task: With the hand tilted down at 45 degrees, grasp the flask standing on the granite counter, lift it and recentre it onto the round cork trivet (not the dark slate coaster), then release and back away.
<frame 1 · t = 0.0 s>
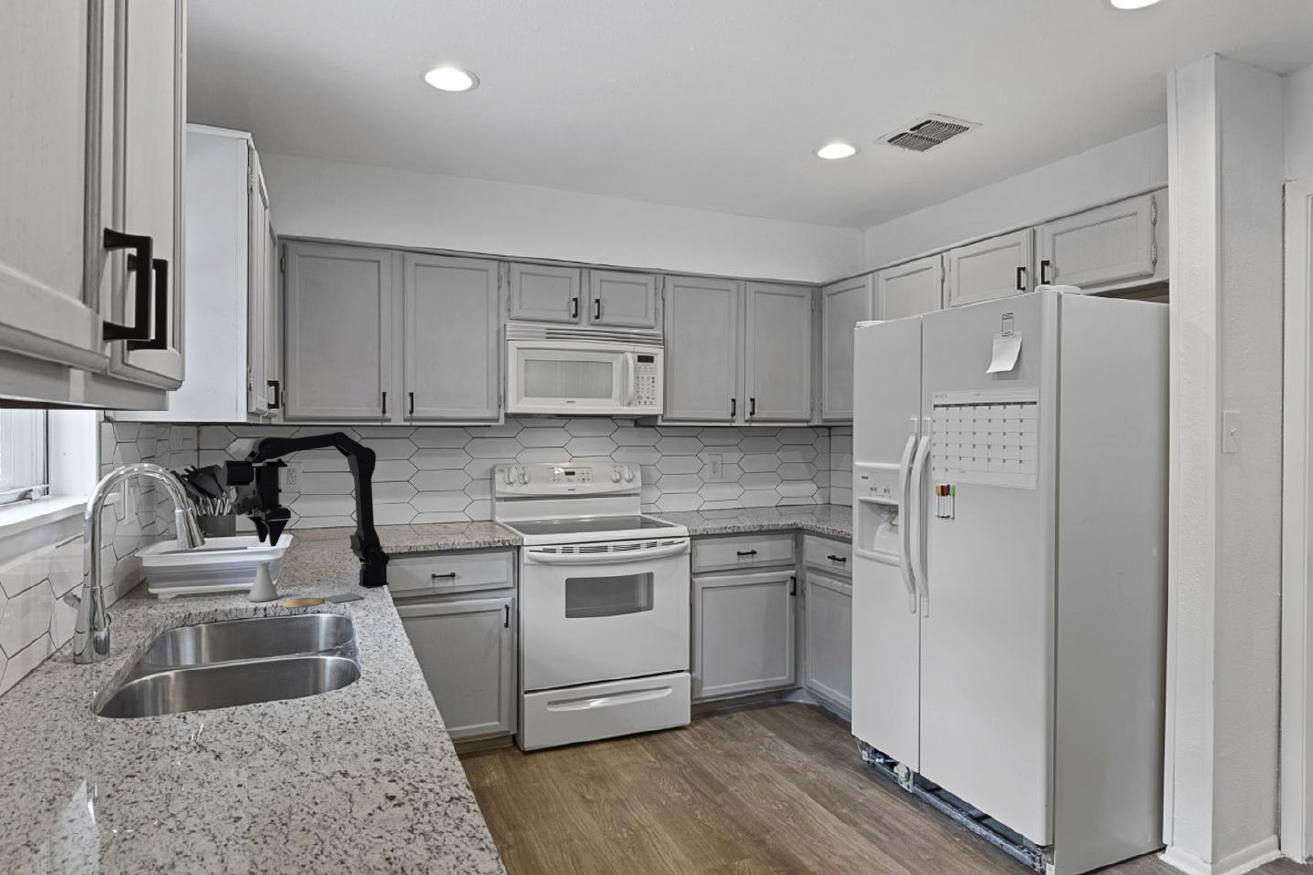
hand: (267, 544, 206), 15 cm above the countertop, tool pointing down, fingers open, 9 cm apart
cork trivet: (302, 603, 202), on the countertop
flask: (263, 600, 207), on the countertop
slate coaster: (343, 599, 207), on the countertop
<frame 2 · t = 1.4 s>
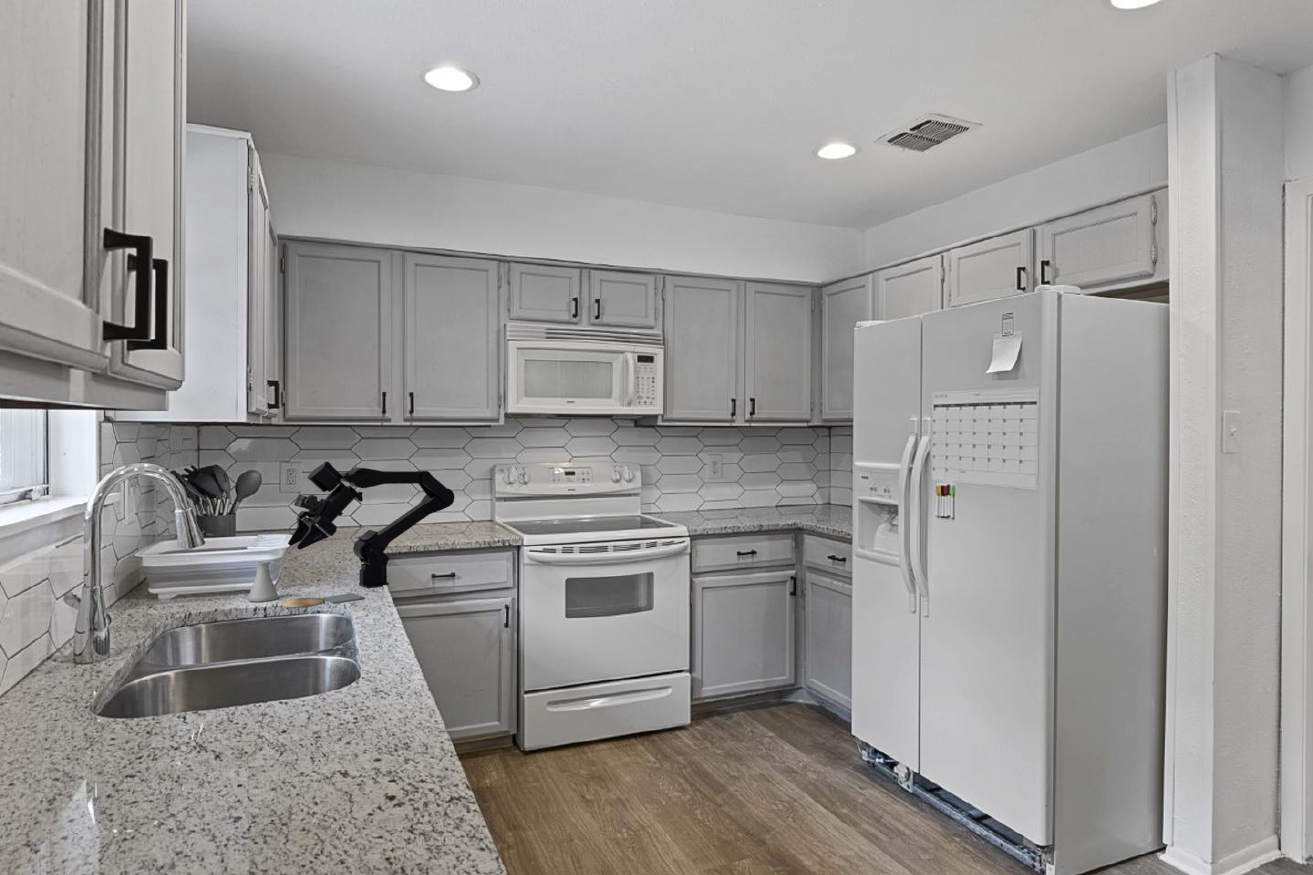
hand: (293, 546, 212), 13 cm above the countertop, tool tilted 45°, fingers open, 9 cm apart
nothing on the countertop moved.
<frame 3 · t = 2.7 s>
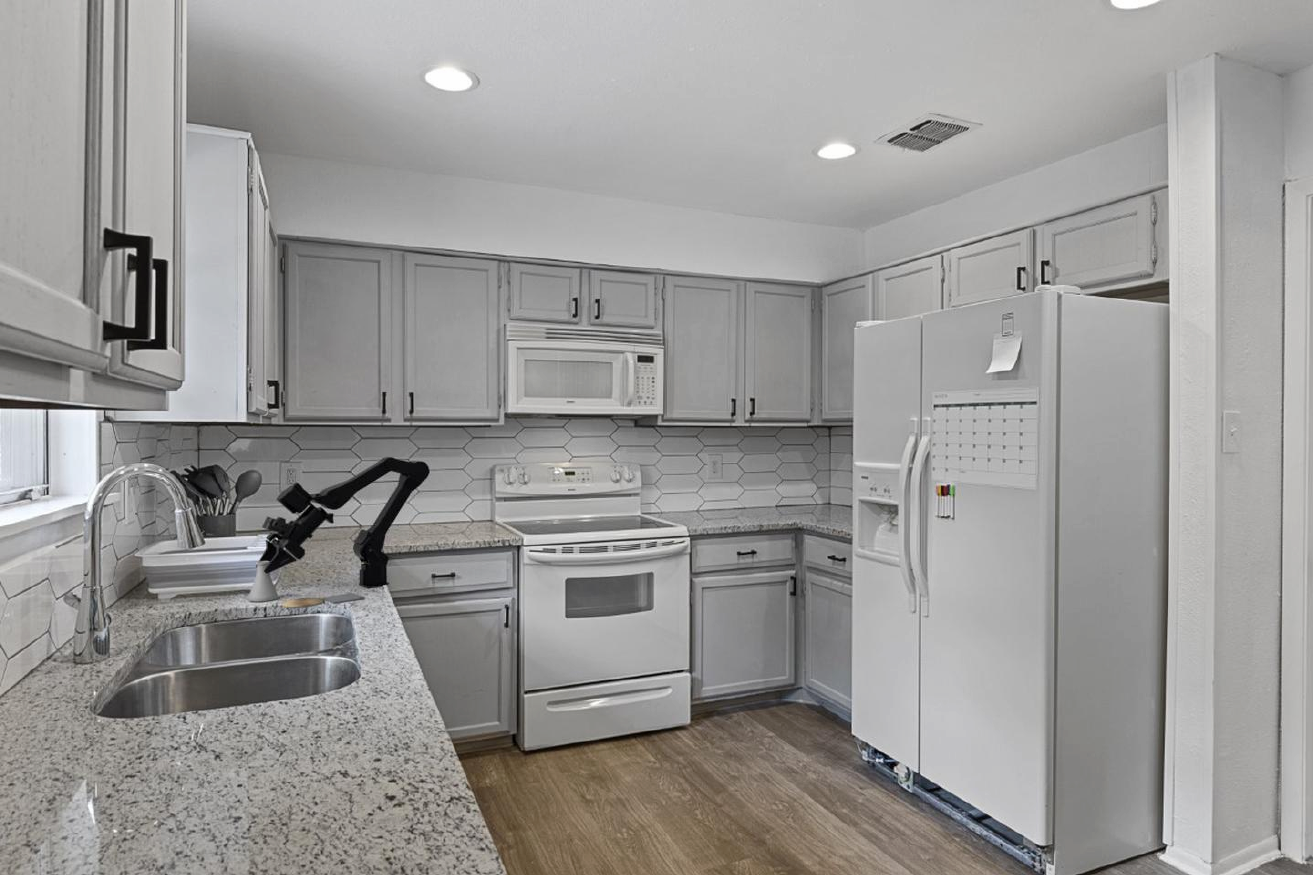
hand: (261, 570, 207), 8 cm above the countertop, tool tilted 45°, fingers open, 9 cm apart
nothing on the countertop moved.
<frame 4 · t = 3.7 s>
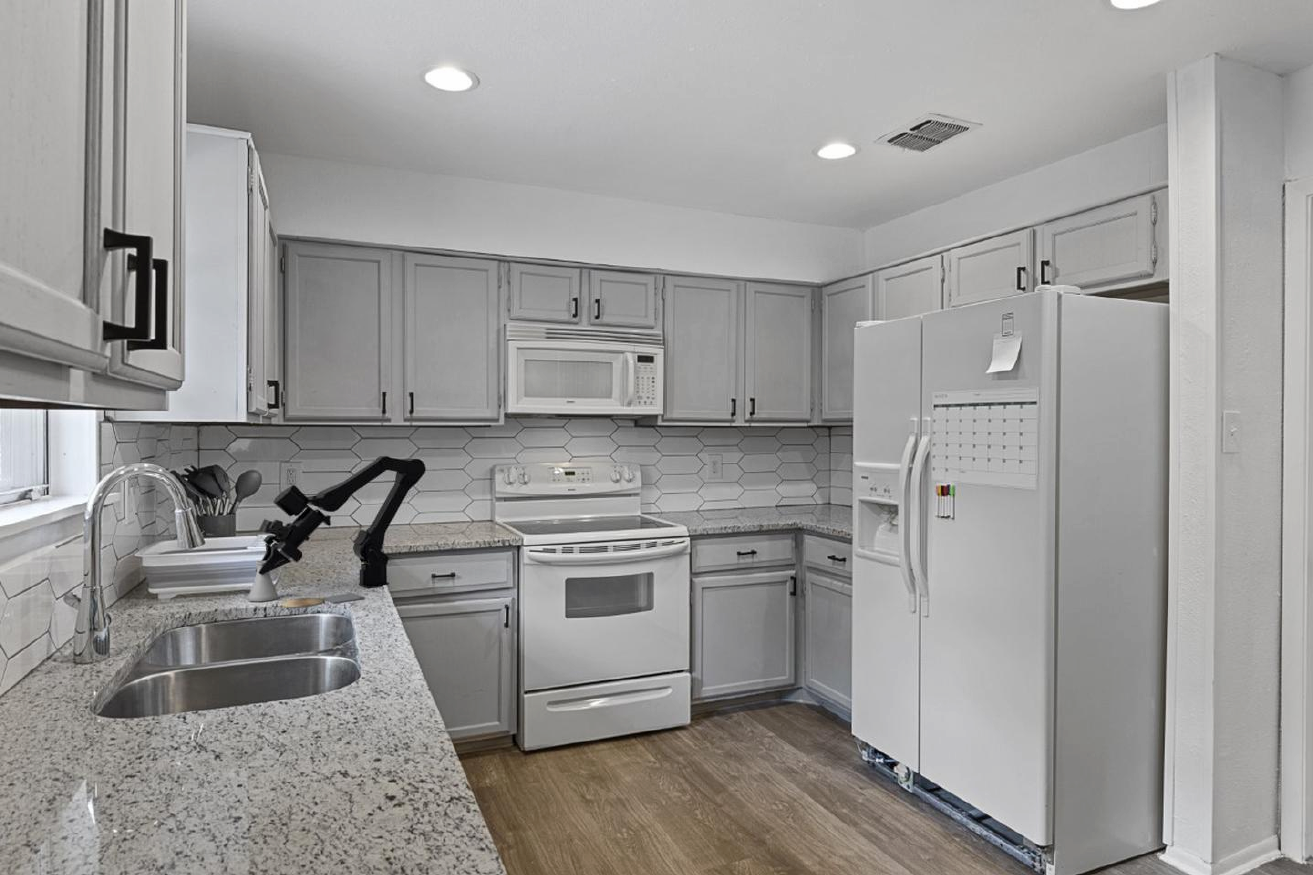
hand: (258, 572, 206), 7 cm above the countertop, tool tilted 45°, fingers closed on flask, 3 cm apart
flask: (263, 600, 207), on the countertop, touching gripper
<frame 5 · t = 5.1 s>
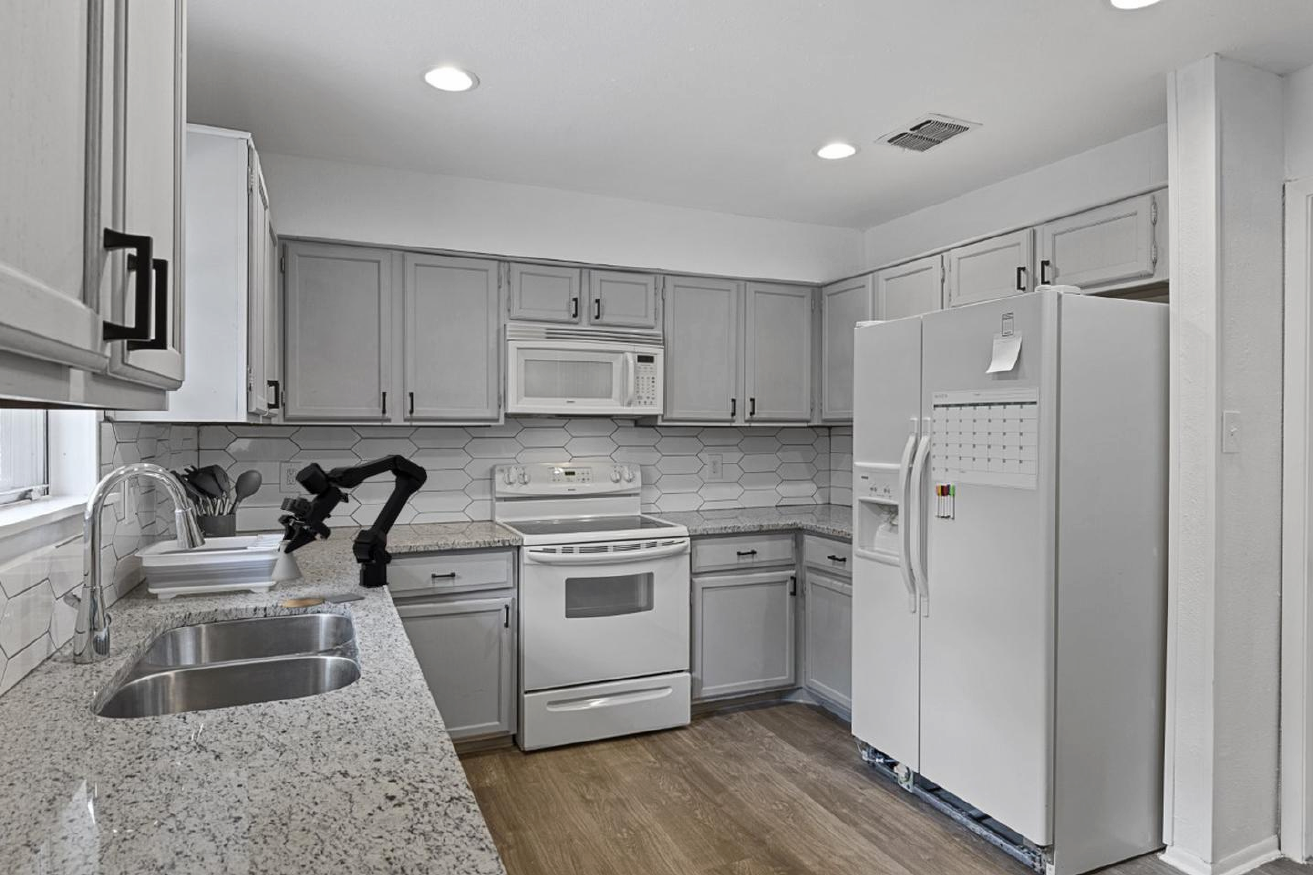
hand: (282, 552, 202), 13 cm above the countertop, tool tilted 45°, fingers closed on flask, 3 cm apart
flask: (286, 580, 203), point 6 cm above the countertop, touching gripper
when the fingers open (8 cm above the countertop, at t = 6.5 s): flask stays where it is, resting on cork trivet.
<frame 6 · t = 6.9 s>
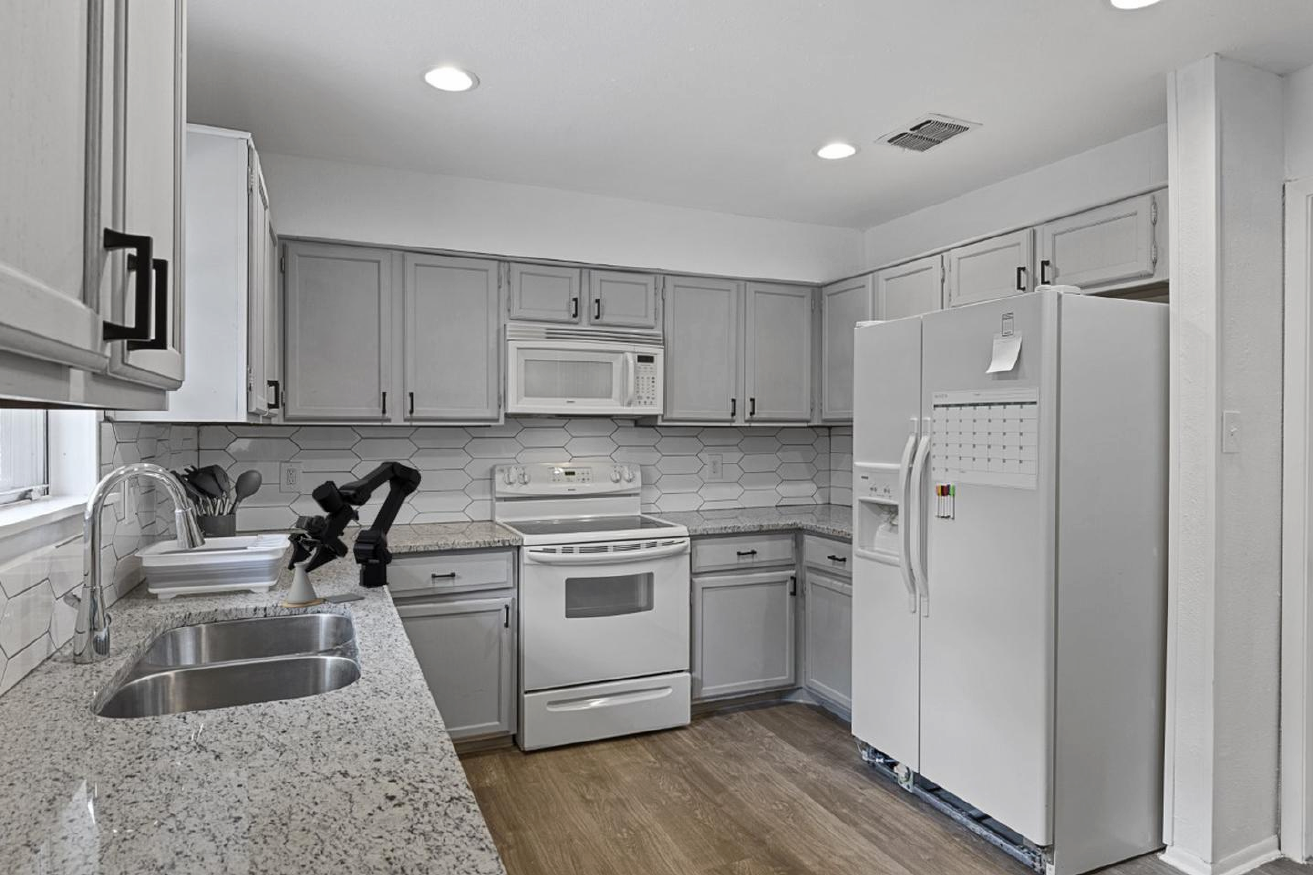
hand: (297, 570, 201), 9 cm above the countertop, tool tilted 45°, fingers open, 7 cm apart
flask: (301, 602, 202), resting on cork trivet
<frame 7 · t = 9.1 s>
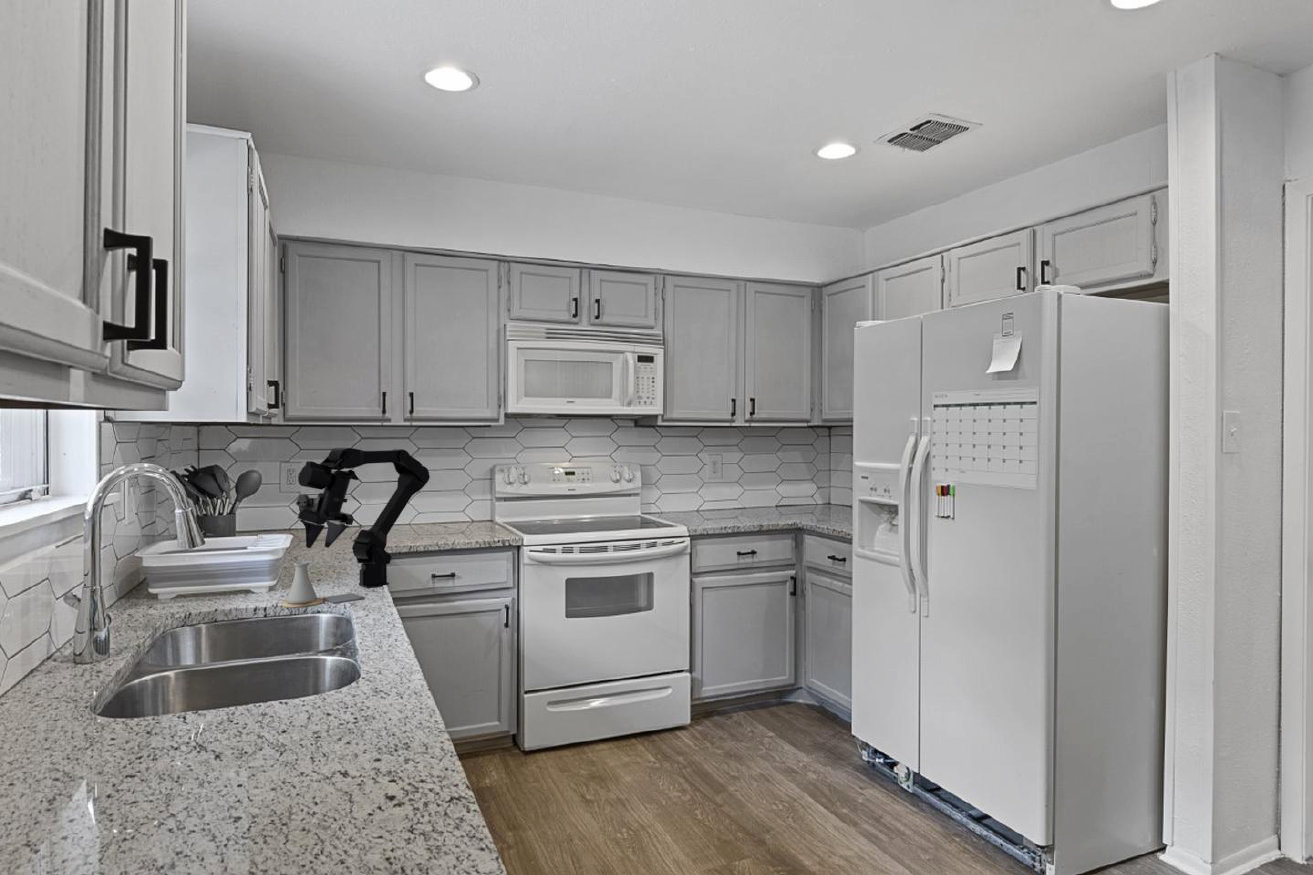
hand: (317, 547, 214), 13 cm above the countertop, tool tilted 15°, fingers open, 9 cm apart
nothing on the countertop moved.
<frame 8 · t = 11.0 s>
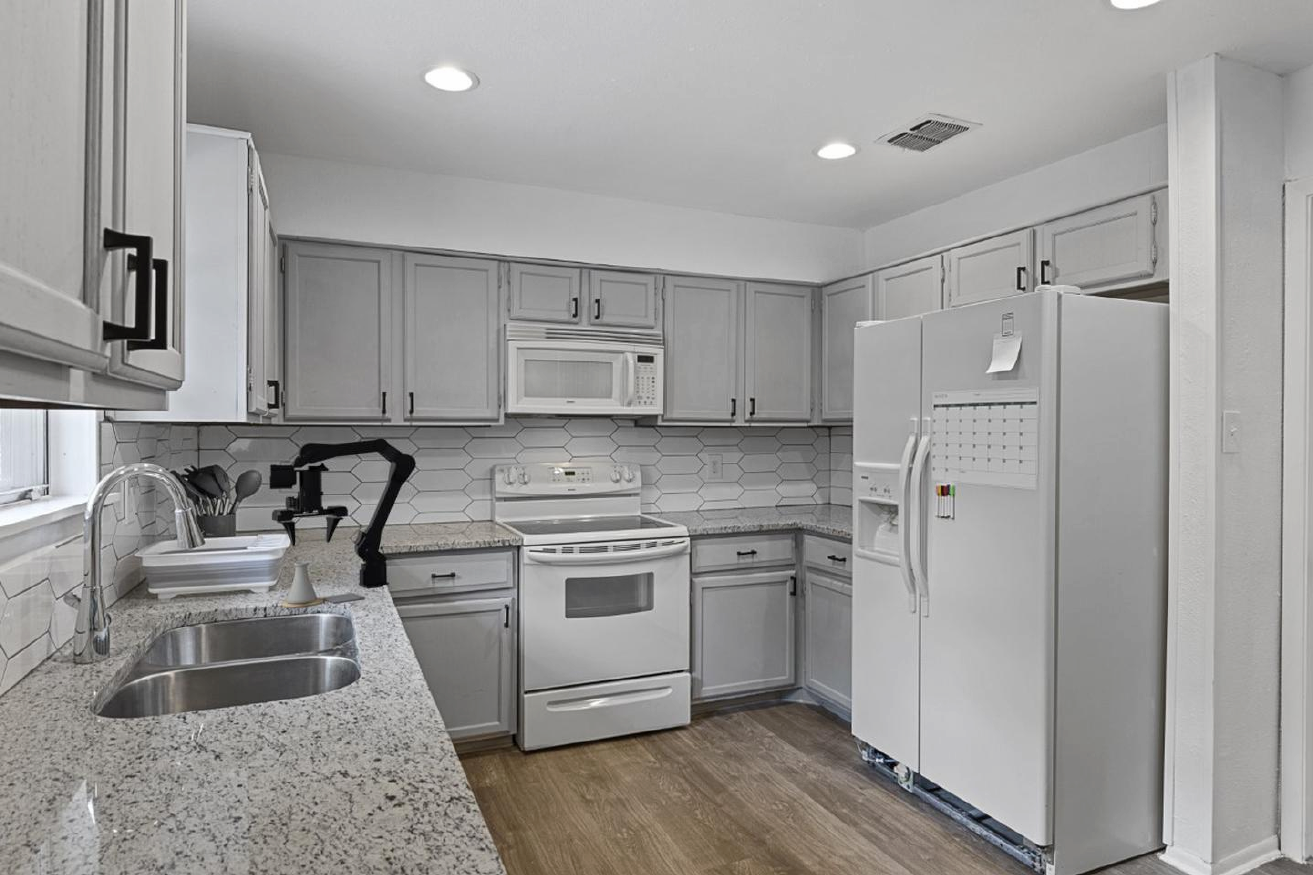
hand: (311, 544, 217), 13 cm above the countertop, tool pointing down, fingers open, 9 cm apart
nothing on the countertop moved.
at the end: flask 0.2 cm from the cork trivet (horizontally); flask tilted 0°; the gripper is holding nothing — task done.
